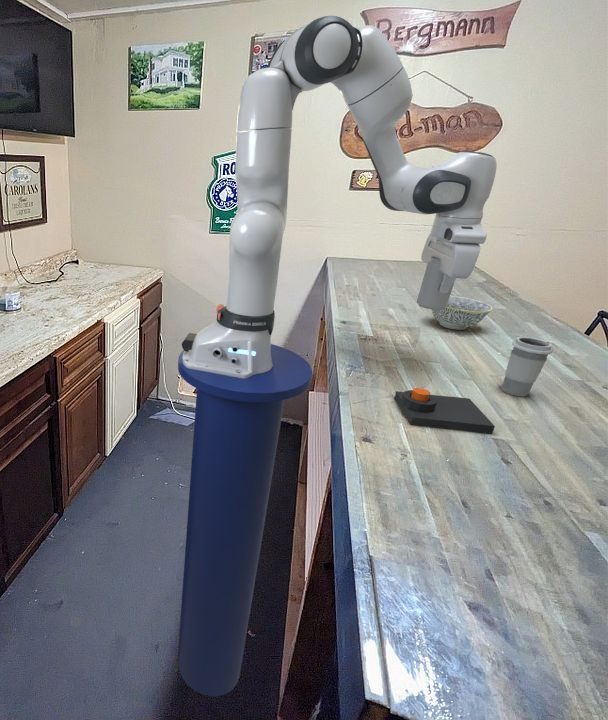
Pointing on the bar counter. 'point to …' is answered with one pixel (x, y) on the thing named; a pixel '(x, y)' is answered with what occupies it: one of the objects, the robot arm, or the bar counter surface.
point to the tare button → (420, 394)
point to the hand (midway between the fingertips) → (436, 288)
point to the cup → (525, 364)
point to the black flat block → (444, 413)
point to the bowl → (461, 313)
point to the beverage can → (433, 287)
